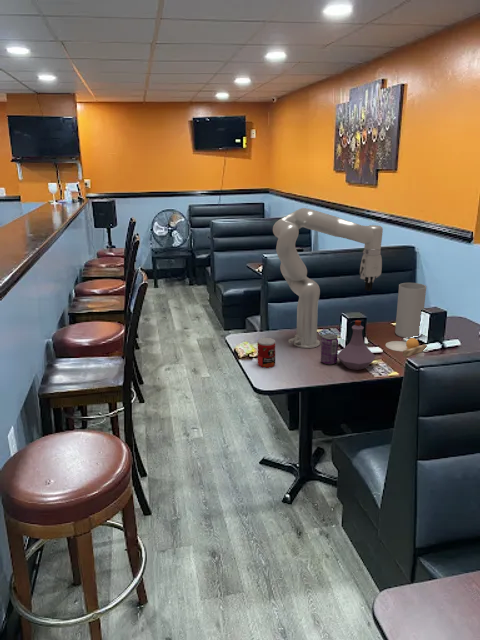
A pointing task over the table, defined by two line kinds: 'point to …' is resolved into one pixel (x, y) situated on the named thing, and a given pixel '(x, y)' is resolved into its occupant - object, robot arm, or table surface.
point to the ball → (412, 343)
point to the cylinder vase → (409, 309)
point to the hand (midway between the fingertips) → (368, 290)
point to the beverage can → (329, 349)
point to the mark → (397, 345)
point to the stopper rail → (414, 350)
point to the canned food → (266, 352)
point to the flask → (356, 350)
